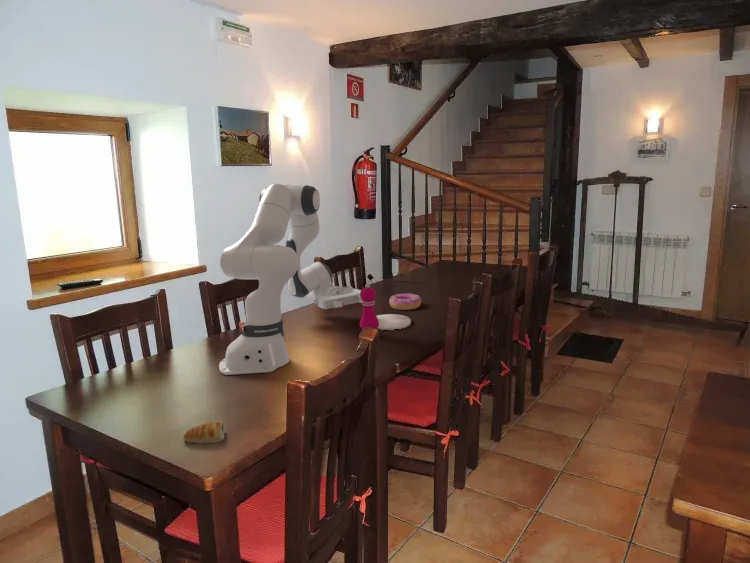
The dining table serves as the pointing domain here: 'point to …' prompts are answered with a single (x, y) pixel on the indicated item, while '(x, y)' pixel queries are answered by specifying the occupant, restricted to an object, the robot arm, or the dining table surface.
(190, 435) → the pastry
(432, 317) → the dining table surface
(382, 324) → the trivet
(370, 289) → the pepper mill
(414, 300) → the donut
